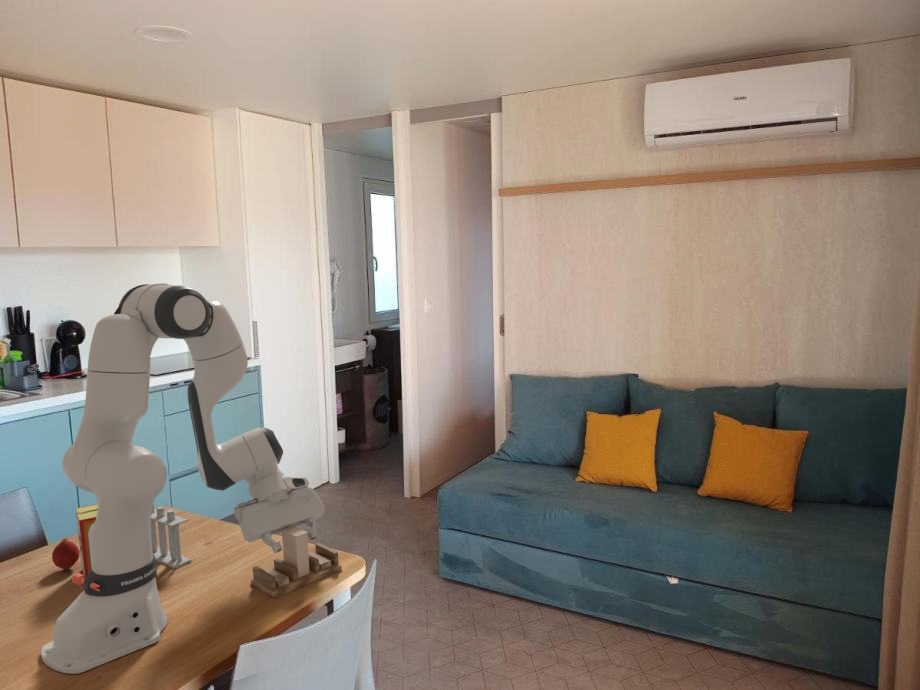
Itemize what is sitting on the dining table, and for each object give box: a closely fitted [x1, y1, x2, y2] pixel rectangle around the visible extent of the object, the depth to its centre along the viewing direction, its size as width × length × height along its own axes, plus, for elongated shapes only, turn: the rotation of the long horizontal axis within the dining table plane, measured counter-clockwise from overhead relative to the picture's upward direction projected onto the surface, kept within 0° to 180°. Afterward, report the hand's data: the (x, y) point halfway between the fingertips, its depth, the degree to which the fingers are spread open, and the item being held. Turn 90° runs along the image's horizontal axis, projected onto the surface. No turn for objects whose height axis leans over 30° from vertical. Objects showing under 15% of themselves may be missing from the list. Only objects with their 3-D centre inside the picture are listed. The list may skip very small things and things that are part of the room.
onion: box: [51, 536, 81, 570], centre depth 167 cm, size 6×6×8 cm
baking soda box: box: [75, 503, 98, 577], centre depth 164 cm, size 10×6×16 cm
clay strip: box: [281, 526, 310, 578], centre depth 160 cm, size 3×6×10 cm, turn 45°
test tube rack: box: [150, 503, 192, 570], centre depth 175 cm, size 25×4×13 cm, turn 55°
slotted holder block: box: [250, 542, 343, 599], centre depth 161 cm, size 18×10×4 cm, turn 136°
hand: (296, 544), depth 159 cm, fingers open, 8 cm apart
